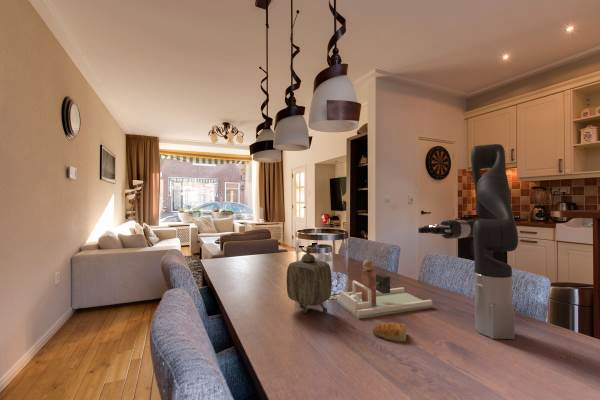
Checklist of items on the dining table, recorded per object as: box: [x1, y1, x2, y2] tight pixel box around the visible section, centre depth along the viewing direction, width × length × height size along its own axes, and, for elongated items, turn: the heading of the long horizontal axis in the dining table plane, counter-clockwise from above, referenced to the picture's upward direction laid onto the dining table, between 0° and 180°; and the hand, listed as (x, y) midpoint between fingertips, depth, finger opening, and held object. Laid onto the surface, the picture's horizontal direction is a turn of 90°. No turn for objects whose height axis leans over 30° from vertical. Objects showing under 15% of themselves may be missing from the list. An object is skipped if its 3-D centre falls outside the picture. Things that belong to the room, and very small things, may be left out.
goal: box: [338, 280, 372, 313], centre depth 105 cm, size 7×13×8 cm, turn 17°
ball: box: [351, 295, 360, 303], centre depth 105 cm, size 4×4×4 cm
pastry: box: [372, 322, 407, 343], centre depth 84 cm, size 9×7×4 cm
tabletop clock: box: [286, 244, 333, 314], centre depth 103 cm, size 14×9×25 cm, turn 51°
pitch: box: [336, 286, 433, 320], centre depth 108 cm, size 30×17×2 cm, turn 107°
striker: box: [361, 259, 391, 305], centre depth 107 cm, size 10×5×16 cm, turn 107°
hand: (419, 230), depth 113 cm, fingers closed
